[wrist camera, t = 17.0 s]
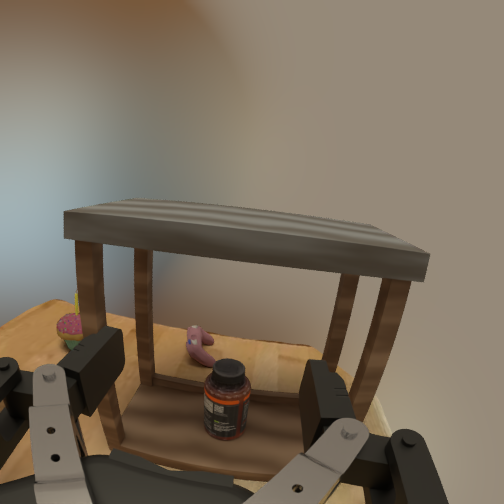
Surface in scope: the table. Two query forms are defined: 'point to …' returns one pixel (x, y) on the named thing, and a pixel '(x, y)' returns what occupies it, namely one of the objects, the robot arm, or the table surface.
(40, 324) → the table surface
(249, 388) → the supplement bottle
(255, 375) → the table surface
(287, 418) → the under-counter shelf
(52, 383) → the robot arm
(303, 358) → the table surface
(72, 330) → the cupcake
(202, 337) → the video game controller
